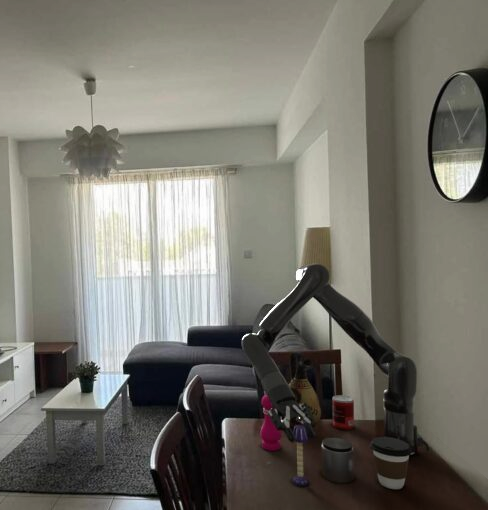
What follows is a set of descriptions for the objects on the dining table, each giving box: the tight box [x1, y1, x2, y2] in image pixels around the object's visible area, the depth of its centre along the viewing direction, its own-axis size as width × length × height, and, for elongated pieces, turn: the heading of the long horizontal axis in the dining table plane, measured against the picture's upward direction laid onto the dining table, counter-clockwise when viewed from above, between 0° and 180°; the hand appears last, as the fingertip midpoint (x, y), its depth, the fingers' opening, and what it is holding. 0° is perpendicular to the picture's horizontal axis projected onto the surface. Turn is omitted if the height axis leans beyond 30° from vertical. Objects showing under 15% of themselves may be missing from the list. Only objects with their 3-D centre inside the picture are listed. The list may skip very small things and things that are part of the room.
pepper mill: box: [259, 394, 282, 451], centre depth 164 cm, size 7×7×20 cm
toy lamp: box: [292, 425, 309, 487], centre depth 138 cm, size 5×5×17 cm
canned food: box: [332, 394, 355, 430], centre depth 182 cm, size 8×8×11 cm
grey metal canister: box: [321, 437, 355, 484], centre depth 142 cm, size 9×9×10 cm
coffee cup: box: [369, 436, 412, 490], centre depth 136 cm, size 11×11×12 cm
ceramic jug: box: [288, 350, 322, 433], centre depth 179 cm, size 17×15×30 cm
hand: (303, 439), depth 137 cm, fingers open, 6 cm apart
